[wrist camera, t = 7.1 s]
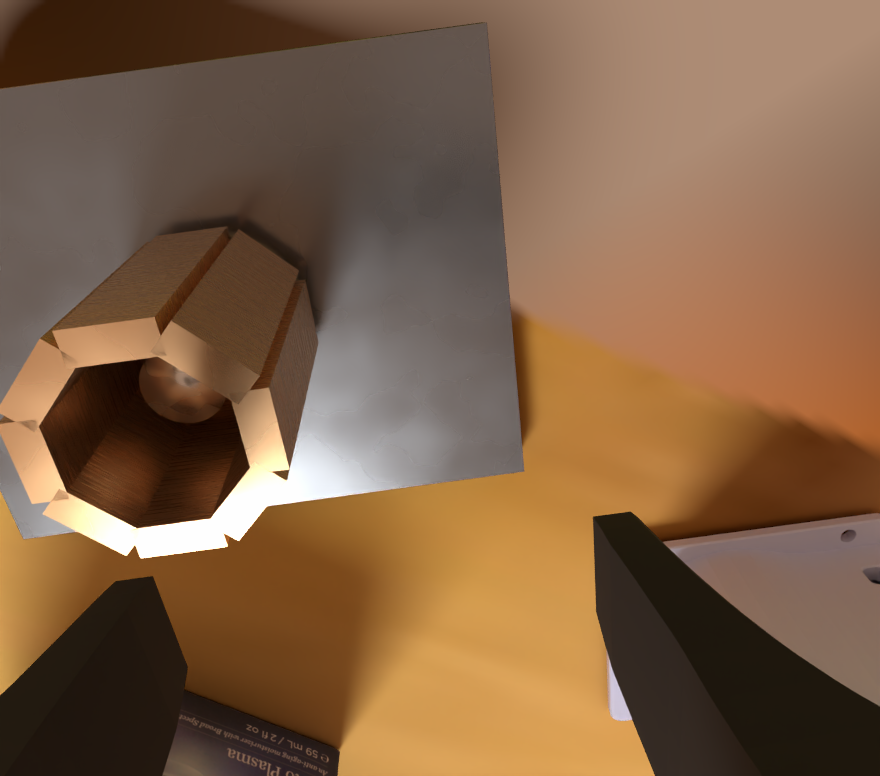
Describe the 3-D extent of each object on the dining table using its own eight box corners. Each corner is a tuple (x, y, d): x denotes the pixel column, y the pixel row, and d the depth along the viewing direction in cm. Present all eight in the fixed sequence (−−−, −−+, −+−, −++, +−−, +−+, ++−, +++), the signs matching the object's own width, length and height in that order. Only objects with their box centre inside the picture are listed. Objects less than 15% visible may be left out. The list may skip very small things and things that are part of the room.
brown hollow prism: (292, 217, 17) (247, 304, 12) (329, 395, 20) (306, 535, 14) (92, 244, 17) (-41, 343, 12) (151, 419, 20) (61, 568, 14)
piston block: (481, 22, 17) (513, 22, 13) (519, 453, 23) (550, 559, 18) (-149, 108, 17) (-338, 139, 13) (37, 519, 23) (-49, 640, 18)
